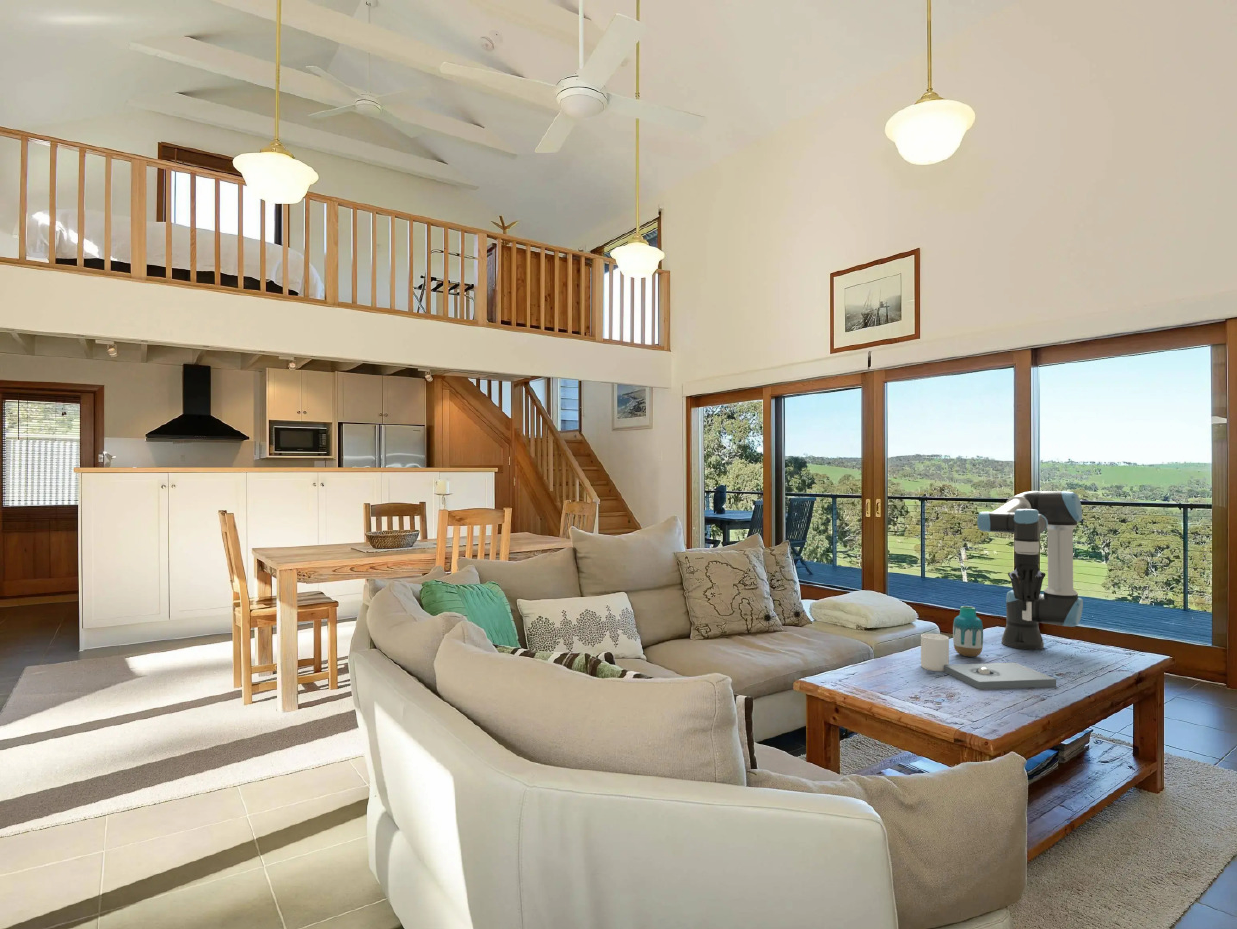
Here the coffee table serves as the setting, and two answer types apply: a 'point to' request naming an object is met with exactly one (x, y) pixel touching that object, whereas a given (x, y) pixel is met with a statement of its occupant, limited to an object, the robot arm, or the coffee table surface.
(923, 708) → the coffee table surface
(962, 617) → the vase
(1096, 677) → the coffee table surface
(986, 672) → the ball
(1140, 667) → the coffee table surface
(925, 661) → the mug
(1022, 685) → the grey plate with hole
